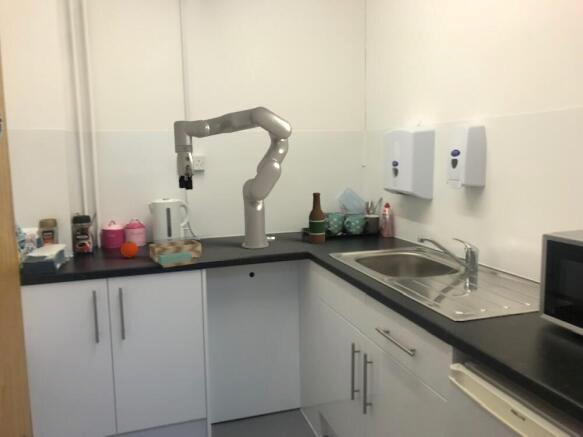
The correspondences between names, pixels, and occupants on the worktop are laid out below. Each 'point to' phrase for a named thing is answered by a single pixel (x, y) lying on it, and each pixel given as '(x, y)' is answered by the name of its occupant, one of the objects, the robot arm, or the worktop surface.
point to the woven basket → (175, 248)
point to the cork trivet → (181, 263)
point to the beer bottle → (316, 222)
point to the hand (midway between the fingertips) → (185, 188)
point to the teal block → (174, 258)
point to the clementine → (129, 249)
